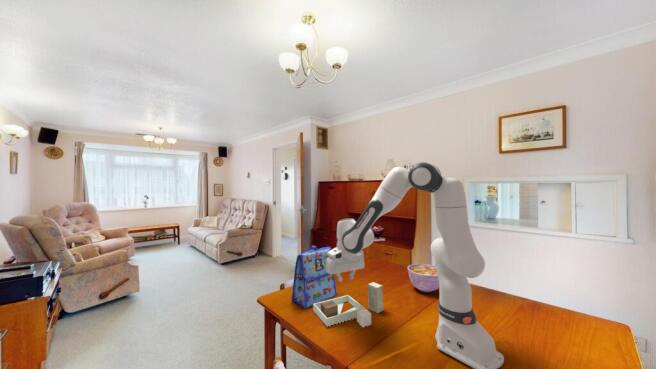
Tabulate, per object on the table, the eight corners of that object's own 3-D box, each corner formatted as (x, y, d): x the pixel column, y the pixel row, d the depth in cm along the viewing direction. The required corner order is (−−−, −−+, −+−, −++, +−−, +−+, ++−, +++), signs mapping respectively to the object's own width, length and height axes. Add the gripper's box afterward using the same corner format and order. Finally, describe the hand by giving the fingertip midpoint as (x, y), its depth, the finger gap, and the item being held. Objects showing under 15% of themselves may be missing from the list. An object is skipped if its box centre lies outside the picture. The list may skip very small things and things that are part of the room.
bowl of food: (401, 288, 142) (400, 269, 142) (417, 279, 155) (417, 261, 155) (435, 300, 127) (434, 278, 127) (450, 289, 141) (450, 269, 141)
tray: (364, 315, 114) (364, 307, 114) (326, 327, 105) (326, 318, 105) (348, 301, 127) (348, 294, 127) (313, 311, 118) (313, 303, 118)
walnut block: (337, 316, 112) (337, 305, 112) (326, 319, 109) (326, 308, 109) (331, 310, 117) (331, 299, 117) (320, 313, 115) (320, 302, 115)
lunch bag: (305, 310, 119) (305, 251, 119) (290, 300, 129) (290, 246, 129) (337, 296, 133) (337, 244, 133) (322, 288, 144) (321, 240, 144)
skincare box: (383, 310, 118) (383, 285, 118) (377, 313, 115) (377, 288, 115) (373, 305, 123) (373, 281, 123) (367, 308, 120) (367, 283, 120)
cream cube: (371, 324, 106) (371, 313, 106) (362, 327, 104) (362, 316, 104) (365, 319, 110) (365, 308, 110) (356, 322, 108) (356, 311, 108)
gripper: (359, 247, 125) (359, 274, 125) (324, 252, 116) (324, 281, 116) (367, 250, 120) (367, 278, 120) (330, 256, 110) (330, 286, 110)
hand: (345, 279), depth 118 cm, fingers open, 5 cm apart
